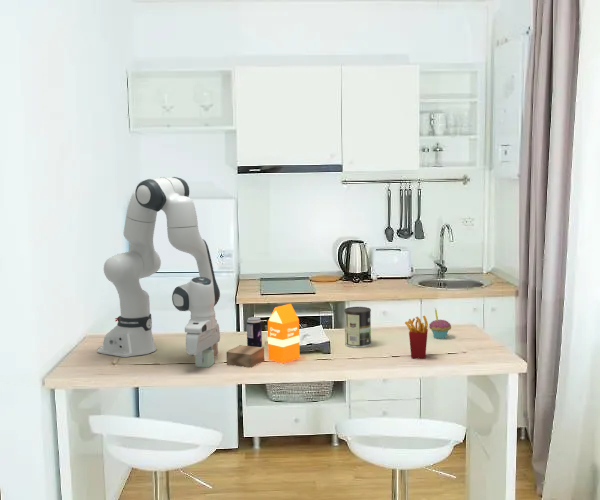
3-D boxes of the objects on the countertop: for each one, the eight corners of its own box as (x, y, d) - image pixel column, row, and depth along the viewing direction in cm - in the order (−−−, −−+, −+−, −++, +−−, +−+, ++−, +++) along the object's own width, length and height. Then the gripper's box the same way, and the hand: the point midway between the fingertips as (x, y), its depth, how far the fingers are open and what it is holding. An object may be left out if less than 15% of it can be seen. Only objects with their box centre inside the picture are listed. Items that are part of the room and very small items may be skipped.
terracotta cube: (203, 356, 287) (202, 343, 286) (204, 353, 292) (204, 340, 291) (216, 356, 287) (216, 343, 286) (218, 352, 292) (217, 340, 291)
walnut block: (226, 365, 276) (226, 351, 275) (240, 358, 285) (240, 345, 284) (251, 368, 271) (250, 354, 271) (264, 360, 280) (264, 347, 280)
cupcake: (429, 339, 303) (429, 310, 302) (429, 334, 312) (429, 305, 310) (451, 340, 302) (451, 310, 300) (450, 334, 310) (450, 305, 309)
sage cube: (195, 366, 274) (195, 352, 274) (201, 362, 279) (201, 349, 278) (208, 367, 273) (207, 353, 272) (214, 363, 277) (213, 350, 277)
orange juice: (268, 359, 281) (266, 306, 278) (285, 354, 287) (283, 302, 284) (283, 363, 276) (282, 309, 273) (300, 357, 282) (299, 304, 279)
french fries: (427, 359, 276) (427, 319, 274) (404, 358, 278) (404, 318, 276) (428, 353, 284) (428, 313, 282) (406, 352, 286) (406, 313, 284)
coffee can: (370, 340, 304) (369, 306, 302) (372, 347, 294) (371, 311, 292) (344, 341, 304) (343, 306, 302) (345, 348, 294) (344, 312, 292)
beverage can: (260, 350, 293) (259, 320, 291) (245, 350, 294) (244, 319, 292) (263, 346, 298) (262, 316, 297) (249, 346, 299) (248, 316, 298)
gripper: (208, 315, 284) (209, 352, 286) (182, 329, 265) (183, 367, 267) (223, 316, 282) (224, 353, 284) (198, 330, 263) (200, 368, 265)
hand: (204, 360), depth 275 cm, fingers closed on sage cube, 5 cm apart
